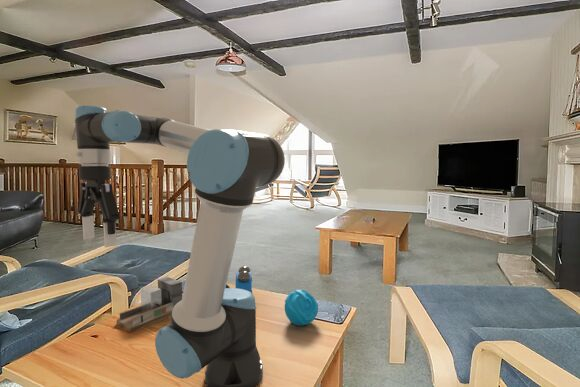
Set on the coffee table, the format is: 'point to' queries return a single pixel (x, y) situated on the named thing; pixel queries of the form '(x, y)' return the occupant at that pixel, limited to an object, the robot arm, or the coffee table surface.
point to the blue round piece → (301, 307)
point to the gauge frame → (170, 298)
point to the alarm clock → (244, 279)
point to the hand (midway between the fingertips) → (99, 242)
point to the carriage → (150, 298)
